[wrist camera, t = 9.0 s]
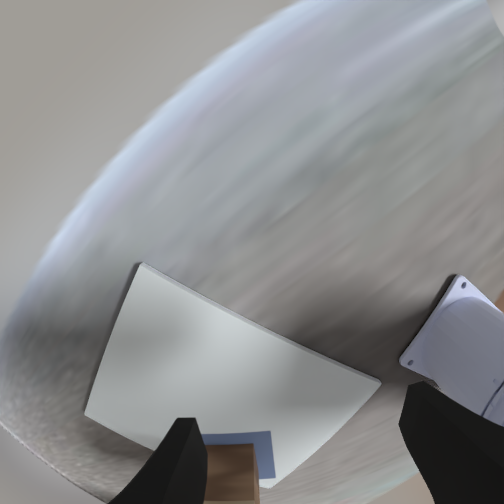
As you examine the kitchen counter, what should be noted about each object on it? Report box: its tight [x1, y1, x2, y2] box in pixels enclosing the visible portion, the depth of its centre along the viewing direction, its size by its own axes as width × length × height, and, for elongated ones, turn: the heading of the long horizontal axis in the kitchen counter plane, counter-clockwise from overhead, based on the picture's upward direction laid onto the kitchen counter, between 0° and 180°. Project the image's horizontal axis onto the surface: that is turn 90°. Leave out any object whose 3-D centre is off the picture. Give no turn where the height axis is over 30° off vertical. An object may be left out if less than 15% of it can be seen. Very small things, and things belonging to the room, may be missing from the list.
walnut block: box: [204, 443, 260, 504], centre depth 19 cm, size 5×5×6 cm
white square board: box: [84, 263, 381, 489], centre depth 21 cm, size 19×18×1 cm
